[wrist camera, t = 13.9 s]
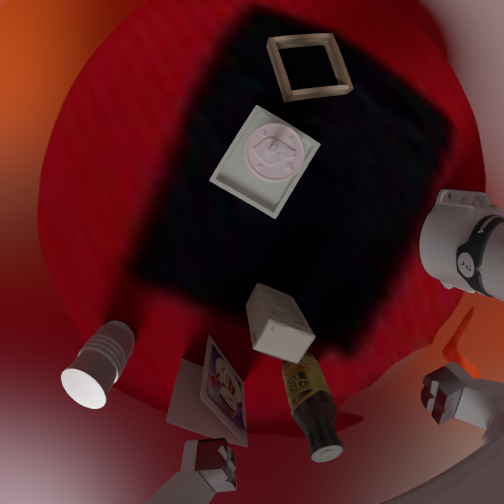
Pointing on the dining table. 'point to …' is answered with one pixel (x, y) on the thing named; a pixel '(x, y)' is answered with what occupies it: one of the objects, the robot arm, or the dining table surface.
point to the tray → (247, 184)
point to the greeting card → (210, 398)
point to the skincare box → (277, 324)
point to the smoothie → (274, 152)
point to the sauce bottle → (312, 406)
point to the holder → (309, 40)
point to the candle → (99, 364)
